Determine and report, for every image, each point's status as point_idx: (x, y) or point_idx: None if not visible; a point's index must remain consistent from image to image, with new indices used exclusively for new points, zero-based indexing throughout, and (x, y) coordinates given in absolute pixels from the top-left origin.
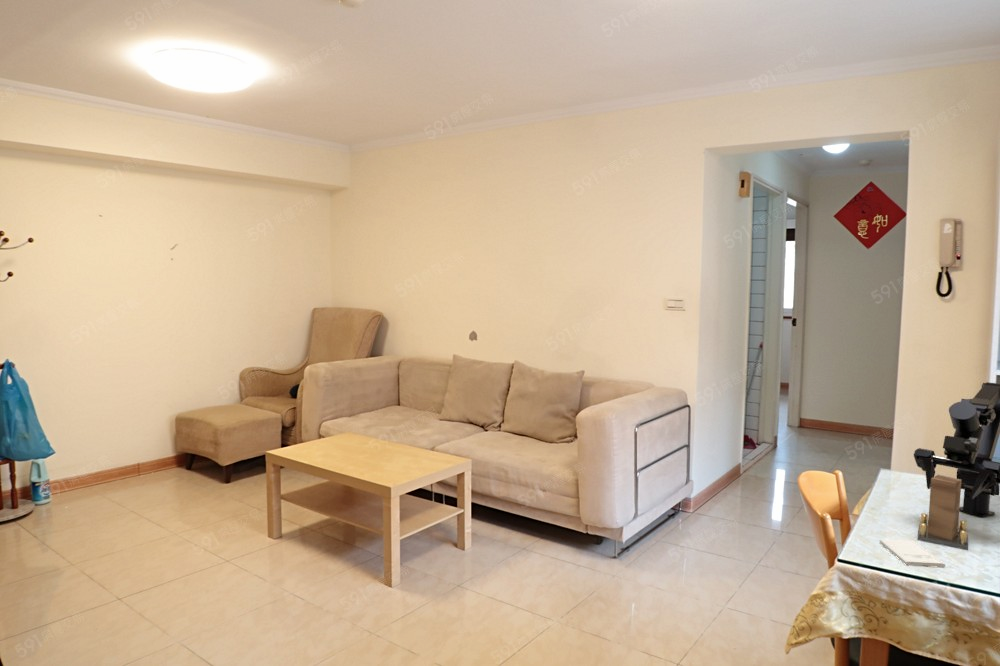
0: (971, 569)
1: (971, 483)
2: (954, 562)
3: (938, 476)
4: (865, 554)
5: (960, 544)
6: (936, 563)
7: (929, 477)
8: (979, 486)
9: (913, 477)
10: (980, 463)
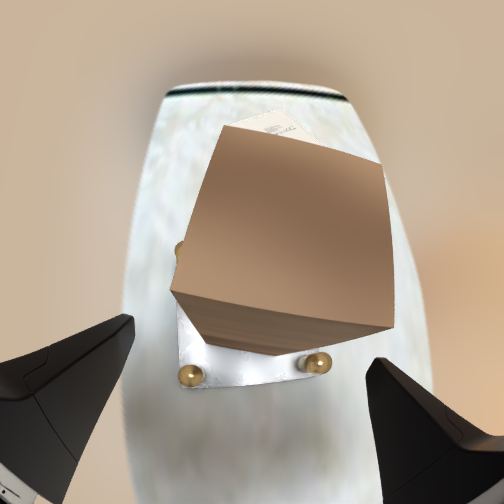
0: (179, 148)
1: None
2: (208, 161)
3: (373, 257)
4: (342, 125)
5: None
6: (239, 121)
7: (415, 396)
8: (55, 346)
9: None
10: None
